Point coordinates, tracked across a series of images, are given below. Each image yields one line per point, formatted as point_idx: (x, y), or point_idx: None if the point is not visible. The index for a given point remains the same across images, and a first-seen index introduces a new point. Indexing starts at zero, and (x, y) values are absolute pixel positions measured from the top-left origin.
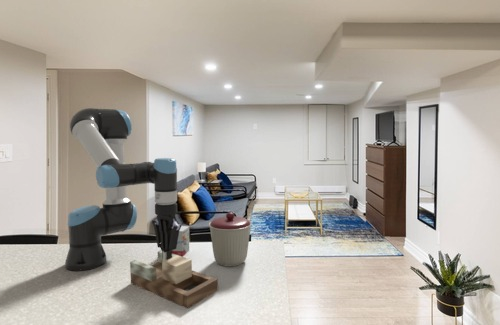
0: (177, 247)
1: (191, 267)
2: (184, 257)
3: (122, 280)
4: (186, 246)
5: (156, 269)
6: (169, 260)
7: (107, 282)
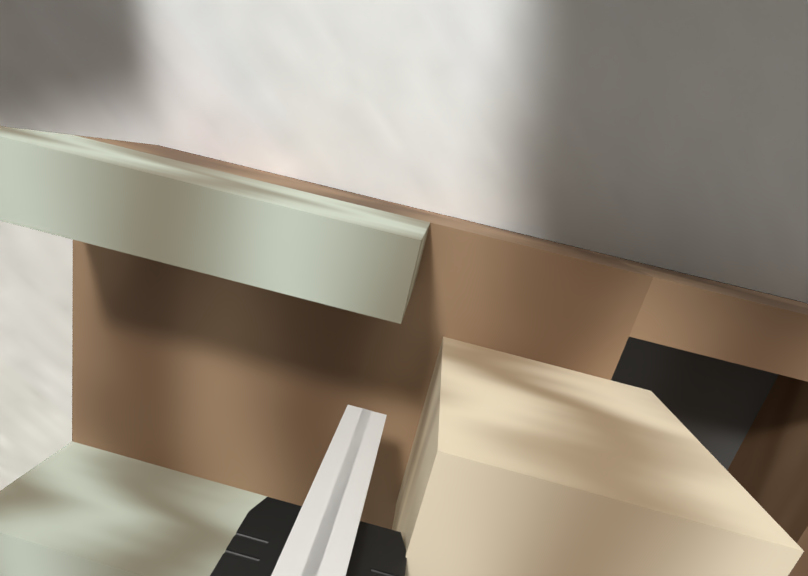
0: None
1: (709, 457)
2: (617, 502)
3: (58, 407)
4: None
5: (211, 366)
6: None
7: (8, 455)
